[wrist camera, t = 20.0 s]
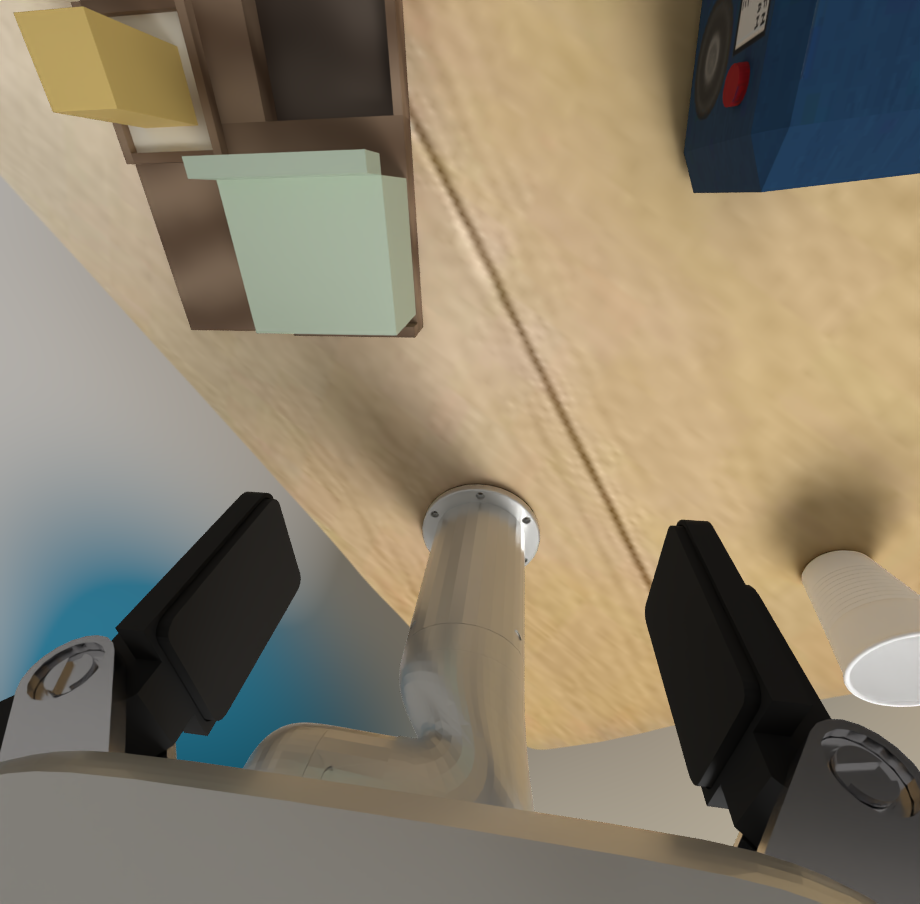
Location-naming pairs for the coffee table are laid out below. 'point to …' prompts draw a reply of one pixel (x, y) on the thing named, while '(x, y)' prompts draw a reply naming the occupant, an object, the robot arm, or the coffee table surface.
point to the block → (106, 69)
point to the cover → (317, 239)
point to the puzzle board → (264, 119)
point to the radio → (803, 94)
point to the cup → (868, 626)
